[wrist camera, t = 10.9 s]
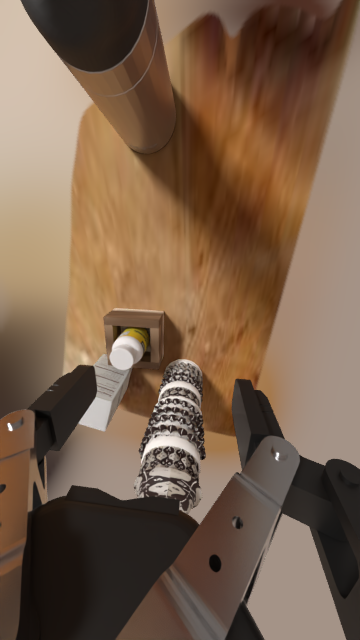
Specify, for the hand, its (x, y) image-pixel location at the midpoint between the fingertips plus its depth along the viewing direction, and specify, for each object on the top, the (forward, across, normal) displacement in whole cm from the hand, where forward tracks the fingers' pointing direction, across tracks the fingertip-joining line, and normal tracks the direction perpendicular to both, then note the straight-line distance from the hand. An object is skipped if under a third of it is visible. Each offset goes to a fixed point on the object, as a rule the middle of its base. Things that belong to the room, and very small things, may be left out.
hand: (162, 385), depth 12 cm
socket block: (+30, +10, +10) cm, 33 cm away
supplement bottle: (+29, +10, +10) cm, 32 cm away
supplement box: (+30, +16, +20) cm, 40 cm away
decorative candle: (+30, 0, +20) cm, 36 cm away
